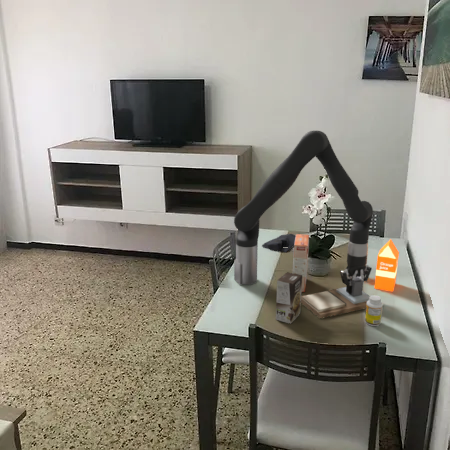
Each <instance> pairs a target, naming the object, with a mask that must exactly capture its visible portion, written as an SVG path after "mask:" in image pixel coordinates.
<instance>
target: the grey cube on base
mask: <svg viewBox="0 0 450 450" xmlns="http://www.w3.org/2000/svg"><path fill="white" fill-rule="evenodd" d="M349 282H350V281H349ZM345 285H346V284H345ZM346 287H347V285H346V286H345V287H344V286H342V287H339V289H338V288H335V289H336V292H338V293H339V294H340V295H342V296H343V297H345V298H346V299H348V300H349V301H350V302H352V303H353V304H356V303H361V302H367V301H368V300H369V297H370V296H371V295H369V294H367V292H364V291H363V288H364V283H363V281H362V280H360V279H359V278H357V277H355V280H354V281H353V284H352V294H349V293H347V291H346Z"/></svg>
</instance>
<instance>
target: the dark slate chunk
mask: <svg viewBox="0 0 450 450" xmlns="http://www.w3.org/2000/svg"><path fill="white" fill-rule="evenodd" d="M295 237H296V234H294V233H288V234H287V233H286V234H281V235H279V236H277V237H276V238H273V239H270V240H269V241H266V242H264V243H263V244H262V245H261V247H262V248H263V249H267V250H270V251H273V250H274V251H275V252H279V251H280V252H281V253H287V251H290V250H291V249H292V248H293V247H294V246H293V245H294V243H295ZM292 246H293V247H292ZM283 247H288V248H283ZM291 247H292V248H291ZM290 248H291V249H290ZM289 249H290V250H289ZM282 251H283V252H282Z"/></svg>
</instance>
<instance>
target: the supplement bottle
mask: <svg viewBox="0 0 450 450" xmlns="http://www.w3.org/2000/svg"><path fill="white" fill-rule="evenodd" d="M369 296H370V297H369V300H368V301H366V302H367V304H366V308H365V319H364V322H365V324H367V325H369V326H372V327H378V326H379V325H381V323H382V317H383V316H382V315H383V307H384V306H383V305H384V304H383V302H382V298H381V296H379V295H374V294H373V295H372V294H371V295H369Z"/></svg>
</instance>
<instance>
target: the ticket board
mask: <svg viewBox="0 0 450 450" xmlns="http://www.w3.org/2000/svg"><path fill="white" fill-rule="evenodd" d="M339 288H340V287H339ZM339 288H332V289H329V290H328V289H327V290H324V291H319V292H315V293H309V294H304V295H301V303H302V304H301V305H302V306H304V305H305V306H306V307H307V308H306V307H305V306H304V307H305V308H306V309H308V311H310V310H311V311H312V312H313V313H312V312H311V311H310V312H311V313H312V314H313V315H315V316H316V315H317V316H318V317H319V318H318V317H317V316H316V317H317V318H318V319H320V318H322V319H324V318H323V317H326V318H328V317H327V316H330V317H332V316H331V315H334V316H337V315H336V314H339V315H342V314H341V313H343V314H347V313H351V312H350V311H352V312H356V311H360V310H363V309H364V310H366V304H367V301H365V302H361V303H356V304H353V303H352V302H350V301H349V300H348V299H346V298H345V297H343V296H342V295H340V294H339V293H338V292H336V289H339ZM355 310H356V311H355ZM346 312H347V313H346Z"/></svg>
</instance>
